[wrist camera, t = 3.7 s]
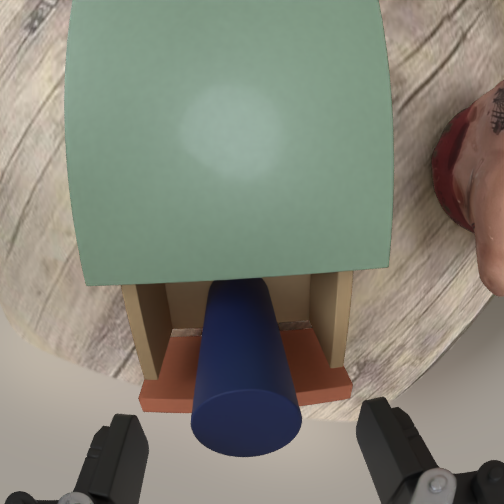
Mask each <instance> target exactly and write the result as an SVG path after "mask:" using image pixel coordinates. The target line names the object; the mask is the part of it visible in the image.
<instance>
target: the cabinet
mask: <svg viewBox="0 0 504 504" xmlns="http://www.w3.org/2000/svg"><path fill="white" fill-rule="evenodd" d="M64 110H65V143H66V159H67V171H68V181H69V191H70V199H71V207H72V214H73V221H74V227H75V233H76V239H77V244H78V250H79V255H80V260H81V265H82V269H83V274H84V278H85V283H86V286H106V285H132V284H155V283H176V282H195V281H213V280H230V279H246V278H262V277H276V276H290V275H304V274H317V273H330V272H342V271H354V270H365V269H377V268H387V267H389V257H390V246H391V233H392V217H393V193H394V136H393V113H392V97H391V85H390V74H389V65H388V56H387V48H386V41H385V34H384V28H383V22H382V16H381V11H380V5H379V0H73V1H72V8H71V15H70V22H69V31H68V40H67V52H66V67H65V99H64Z"/></svg>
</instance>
